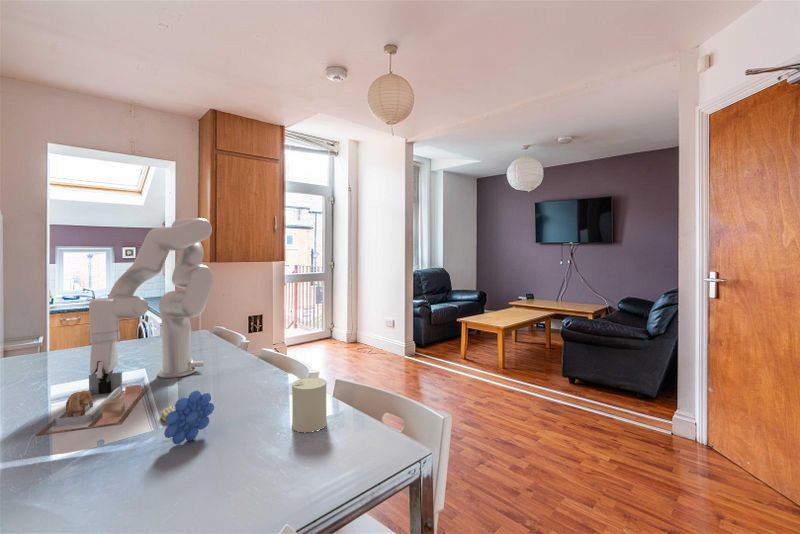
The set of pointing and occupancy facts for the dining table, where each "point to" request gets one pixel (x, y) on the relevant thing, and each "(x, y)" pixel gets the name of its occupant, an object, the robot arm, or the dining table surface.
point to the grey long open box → (93, 389)
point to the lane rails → (96, 418)
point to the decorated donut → (167, 411)
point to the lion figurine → (78, 403)
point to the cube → (113, 407)
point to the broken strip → (130, 396)
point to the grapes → (189, 417)
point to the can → (309, 404)
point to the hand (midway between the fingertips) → (106, 392)
